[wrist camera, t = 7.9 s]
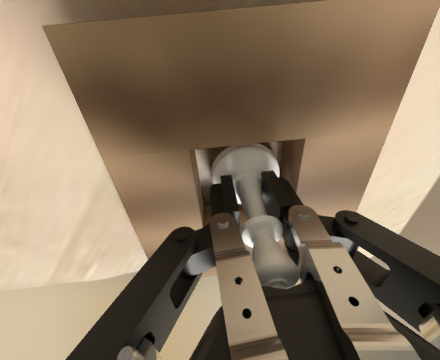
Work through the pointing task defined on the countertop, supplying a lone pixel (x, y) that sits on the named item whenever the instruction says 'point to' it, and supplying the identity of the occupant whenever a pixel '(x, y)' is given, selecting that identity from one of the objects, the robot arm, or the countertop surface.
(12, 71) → the countertop surface
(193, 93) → the socket board
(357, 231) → the robot arm
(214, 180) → the chess piece
